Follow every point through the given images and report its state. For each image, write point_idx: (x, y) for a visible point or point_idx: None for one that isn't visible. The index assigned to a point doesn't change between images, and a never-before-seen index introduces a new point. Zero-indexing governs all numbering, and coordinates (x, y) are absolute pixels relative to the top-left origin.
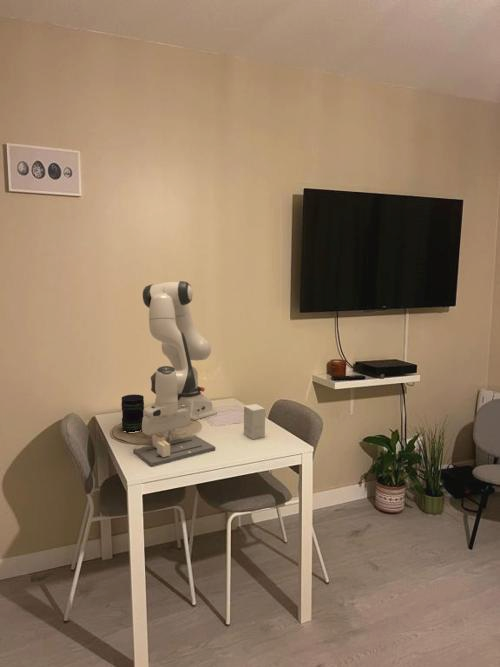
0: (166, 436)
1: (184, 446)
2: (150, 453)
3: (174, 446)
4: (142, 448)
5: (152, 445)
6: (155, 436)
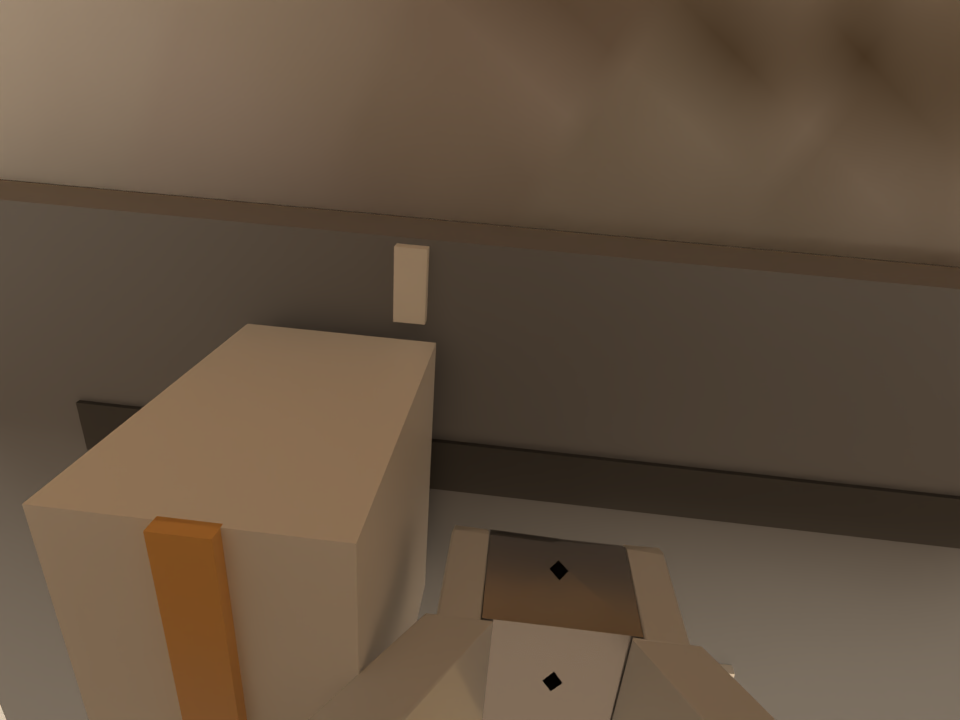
0: (544, 668)
1: (786, 689)
2: None
3: None
4: (4, 260)
5: (280, 245)
6: (93, 678)
